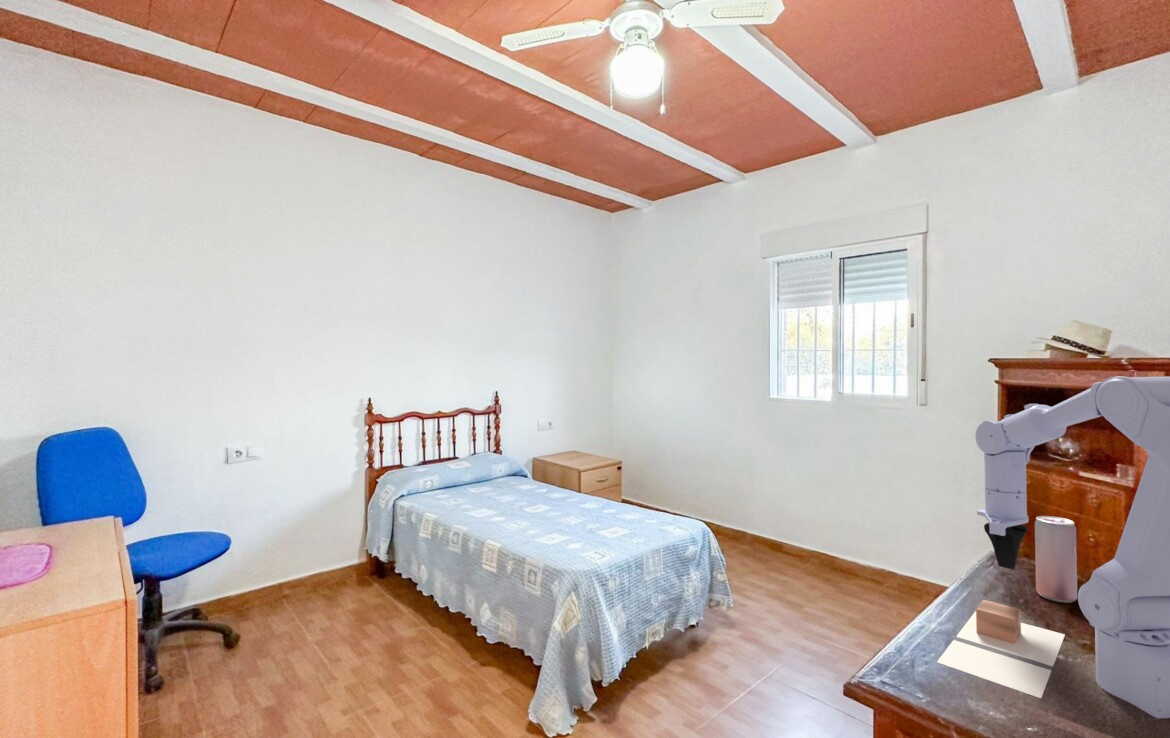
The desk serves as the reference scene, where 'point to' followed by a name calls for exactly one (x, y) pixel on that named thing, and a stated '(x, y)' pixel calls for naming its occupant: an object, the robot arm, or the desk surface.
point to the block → (998, 621)
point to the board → (1006, 657)
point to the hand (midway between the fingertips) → (1006, 566)
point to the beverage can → (1056, 558)
